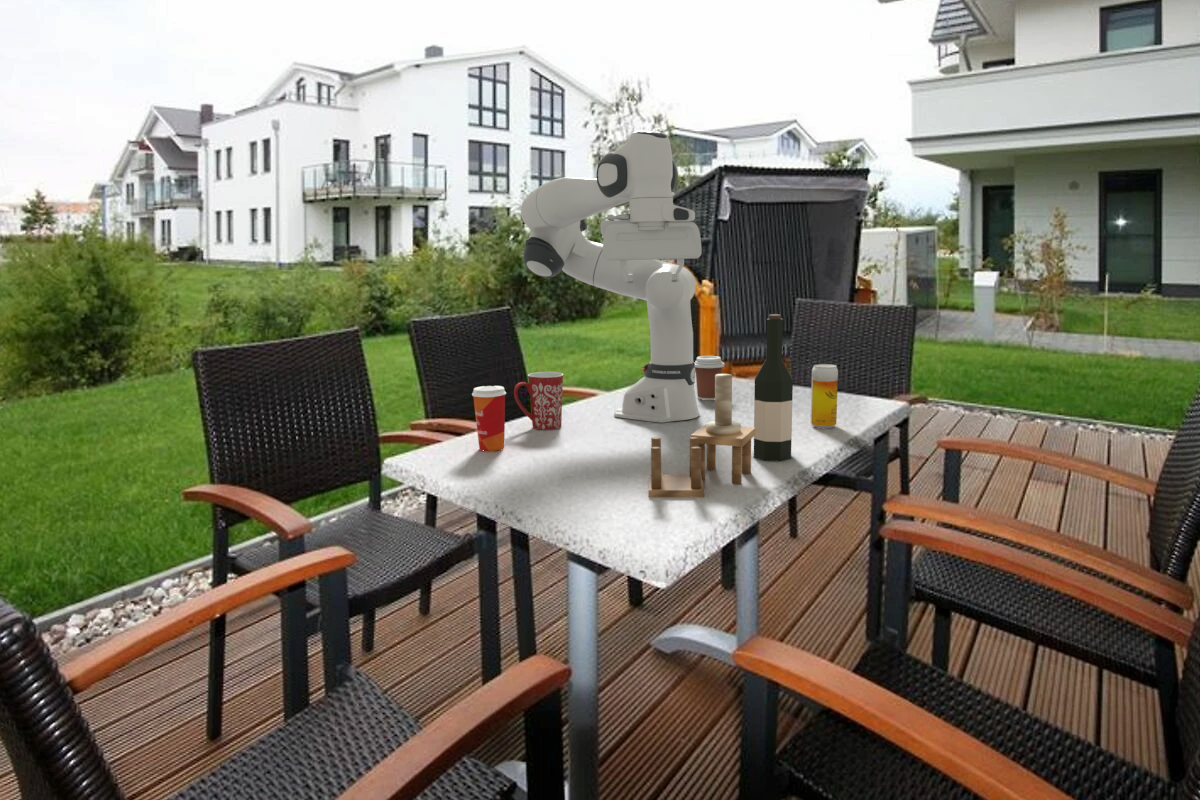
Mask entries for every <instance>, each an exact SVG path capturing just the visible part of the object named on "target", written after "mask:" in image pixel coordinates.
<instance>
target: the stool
mask: <svg viewBox="0 0 1200 800" xmlns="http://www.w3.org/2000/svg"><path fill="white" fill-rule="evenodd" d="M755 430H756V428H755V427H754V426H743V425H742V426H741V432H740V433H738V434H734V435H715V434H710V433H707V432H706V424H705V425H703V426H702V427H700V428H699V429H697V430H696V431H694V432H693V433H691V434H690V438H691V437H698V438H699V447H701V475H702V481H705V480H706V470H707V471H711V472H712V471H716V466H717V465H716V463H717V460H716V459H717V458H716V457H717V454H716V453H717V452H716V451H717V447H716V445H717V446H725V447H727V446H728V447H731V484H733V485H740V484H742V474H743V475H750V474H751V473H752V439H754V436H755Z"/></svg>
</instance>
